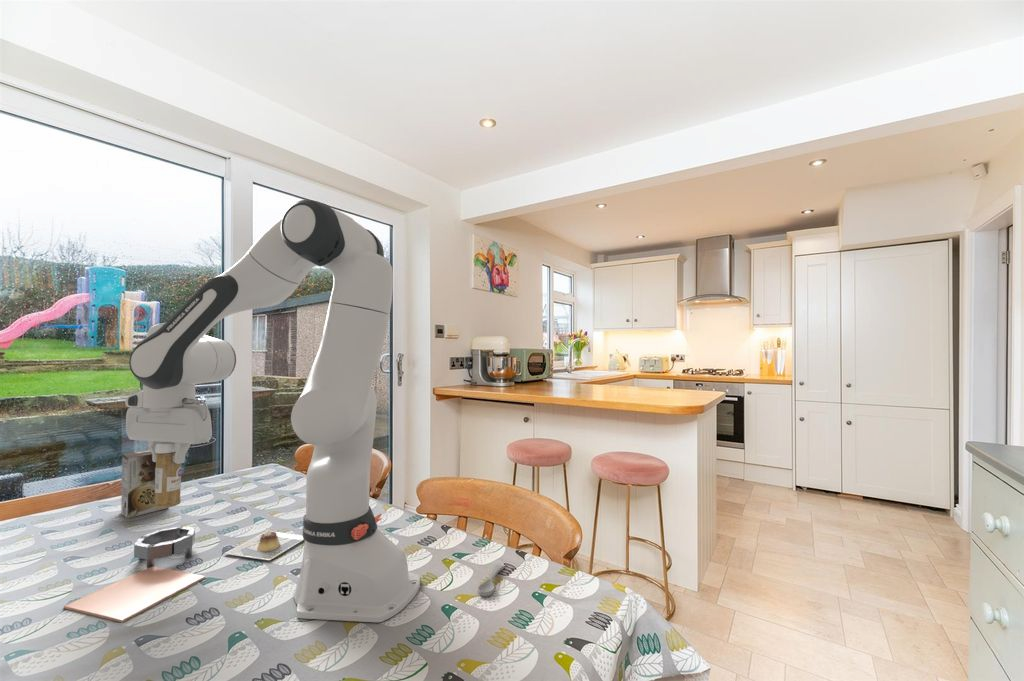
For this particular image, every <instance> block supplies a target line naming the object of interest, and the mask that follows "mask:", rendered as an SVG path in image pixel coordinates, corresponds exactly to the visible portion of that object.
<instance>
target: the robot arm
mask: <svg viewBox="0 0 1024 681" xmlns="http://www.w3.org/2000/svg"><path fill="white" fill-rule="evenodd" d="M384 254H385V252H384V247H383V245H382V242H381V241H380V239H379V238H378V236H376V235H375V234H374V233H373V232H372V231H371V230H369V229H367V228H365V227H363V225H361V224H360V223H359V222H357V221H356V220H354V218H352V217H351V216H349V215H347V214H345V213H343V212H341V211H339V210H336V209H335V208H332V207H331V206H330V205H328V204H326V203H324V202H321V201H317V200H313V199H301V200H298V201H296V202H294V203H293V204H291V205H290V206H289V207H288V209H287V210H286V211H285V213H284V214H283V217H279V219H278V220H276V221H275V222H274V223H272V224H271V226H269V227H268V228H267V229H266V230H265V231H264V232H263V233H262V234H261V235H259V238H257V239H256V241H255V242H254V243H253V245H252V246H251V247H250V248H249V249H248V251H247V252H246V253H245V254H244V256H243V257H242V258H240V259H239V260H238V261H237V262H236V263H235V264H233V266H231V267H230V268H228V269H227V270H225V271H224V272H223V273H221V274H218V275H216V276H214V277H213V278H211V279H210V280H208V281H207V282H205V283H204V284H203V285H202V286H201V287H200V288H199V289H198V290H197V291H195V293H194V294H192V296H191V297H189V299H188V300H187V301H185V303H184V304H183V305H181V307H179V308H178V310H177V311H175V313H174V314H172V315H171V317H170V318H169V319H168V320H167V321H165V322H162V323H158V324H154V325H153V326H151V327H150V328H148V331H147V333H146V336H145V337H144V338H143V339H142V340H141V341H140V342H139V343H138V344H136V346H134V349H133V350H132V352H131V354H130V357H129V361H128V363H129V364H128V365H129V369H130V371H131V373H132V374H133V377H135V378H136V380H138V381H139V382H140V383H141V384H142V390H139V391H137V392H136V393H133V394H130V395H129V396H127V397H125V401H124V404H125V407H127V408H128V409H127V411H126V413H125V414H126V415H125V433H126V436H127V438H128V439H129V440H132V441H144V442H147V446H148V448H149V449H148V450H150V451H151V453H152V461H153V462H156V453H155V446H156V444H158V443H162V442H171V443H175V448H177V451H176V453H175V455H172V463H174V464H180V463H181V464H184V463H185V462H186V454H187V452H188V451H189V449H190V447H191V445H198V444H203V443H207V442H209V441H210V440H211V439H212V436H213V428H212V426H213V425H212V417H211V412H210V410H209V405H208V404H207V403H206V402H205V401H204V400H203V399H201V398H196V385H198V384H199V385H200V384H207V383H215V382H216V383H217V382H221V381H224V380H226V379H228V378H229V377H230V376H231V375H232V373H233V372H234V370H235V368H236V364H237V355H236V351H235V349H234V348H233V345H232V344H230V343H229V342H228V341H226V340H224V339H219V338H216V337H212V336H209V335H206V334H208V332H209V331H210V330H211V329H212V328H213V327H214V326H215V325H217V323H218V322H219V321H221V320H222V319H225V318H226V317H229V316H230V315H234V314H237V313H241V312H244V311H245V312H246V311H249V310H255V309H262V308H270V307H274V306H277V305H280V304H282V303H283V302H284V301H286V300H287V299H288V298H289V297H290V296H291V295H292V294H293V293H294V292H295V291H296V290H297V289H298V287H299V286H300V284H301V283H302V282H303V280H304V279H305V278H306V276H307V275H308V274H309V272H310V271H312V269H313V268H315V267H316V266H317V267H323V268H325V269H327V270H329V271H330V273H331V275H332V277H333V278H332V280H333V283H332V289H331V295H330V298H329V304H328V308H327V313H326V316H325V321H324V322H325V323H324V326H323V332H322V336H321V340H320V343H319V347H318V350H317V353H316V356H315V358H314V361H313V363H312V366H311V368H310V369H309V373H308V376H307V378H306V381H305V384H304V387H303V390H302V391H301V393H300V395H299V397H298V399H297V400H296V401H295V403H294V405H293V407H292V410H291V413H290V422H291V427H292V430H293V431H294V434H295V435H296V436H297V437H298V438H299V439H300V440H301V441H303V442H304V443H306V444H308V445H311V446H314V447H313V452H312V456H311V460H310V463H309V465H308V468H307V470H306V471H307V472H306V486H305V487H306V490H305V492H306V494H305V514H304V515H303V520H302V535H303V538H304V540H303V541H304V544H303V545H304V547H303V554H302V556H303V557H302V562H301V567H300V573H299V577H298V582H297V585H296V589H295V592H294V594H293V597H294V598H293V599H294V602H295V604H296V606H297V607H296V613H295V617H296V618H298V619H306V620H307V619H308V620H309V619H310V620H326V621H345V622H364V623H382V622H384V621H387V620H388V619H391V618H392V617H394V616H395V615H397V614H398V613H400V612H401V611H402V610H403V609H404V608H406V607H407V605H409V604H410V602H412V601H413V599H414V598H415V597H416V595H417V594H418V592H419V589H420V587H421V578H420V575H419V574H417V573H415V572H414V573H413V572H410V571H409V566H408V561H407V557H406V554H405V552H404V551H403V549H402V548H400V547H399V546H398V545H396V544H395V543H394V542H393V541H392V540H390V539H389V538H388V537H387V536H386V535H385V534H384V533H383V532H382V531H380V530H379V529H378V522H380V521H381V520H382V518H381V516H382V513H379V514H377V515H376V516H375V515H374V513H373V510H372V507H371V506H370V480H371V479H370V477H371V475H370V474H371V461H372V454H373V453H372V452H373V448H374V438H375V431H376V430H375V428H376V420H377V419H376V418H377V408H378V398H377V394H376V391H375V390H374V389H373V387H371V385H372V382H373V379H374V375H375V372H376V370H377V366H378V364H379V361H380V359H381V357H382V356H383V355H382V354H383V349H384V345H385V338H386V334H387V330H388V324H389V319H390V313H391V309H392V308H391V307H392V303H393V302H392V300H393V292H394V290H393V289H394V270H393V267H392V265H391V263H390V261H389V260H387V259H386V258H385V257H384Z"/></svg>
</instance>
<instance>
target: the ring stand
mask: <svg viewBox="0 0 1024 681" xmlns="http://www.w3.org/2000/svg"><path fill="white" fill-rule="evenodd" d="M195 540H196V528H195V527H190V526H182V525H181V526H174V527H169V528H163V529H158V530H155V531H153V532H150V533H148V534H145V535H141V536H139V538H138V539H137V540H136V541H135V543H134V545H133V546H134V547H133V550H134V552H133V557H134V558H135V559H138V560H139V561H143V560H146V567H145V569H147V568H150V567H153V566H155V559H160V558H161V559H162V558H166V557H171V556H172V555H173V556H175V555H177V554H179V553H182V552H183V551H184V559H187V558H191V557H192V556H193V545H194V544H195Z"/></svg>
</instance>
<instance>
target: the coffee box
mask: <svg viewBox="0 0 1024 681" xmlns="http://www.w3.org/2000/svg"><path fill="white" fill-rule="evenodd" d="M121 455H122V456H121V459H122V460H121V498H120V499H121V501H120V502H121V504H120V506H121V507H120V513H121V515H122V516H124V518H126V519H130V518H134V517H137V516H142V515H145V514H150V513H155V512H157V511H162V510H166V509H167V508H162V509H158V508H155V507H154V505H155V468H156V462H153V461H152V453H151V451H150V449H148V450H147V449H146V450H141V451H135V452H134V451H133V452H128V453H122V454H121Z"/></svg>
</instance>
